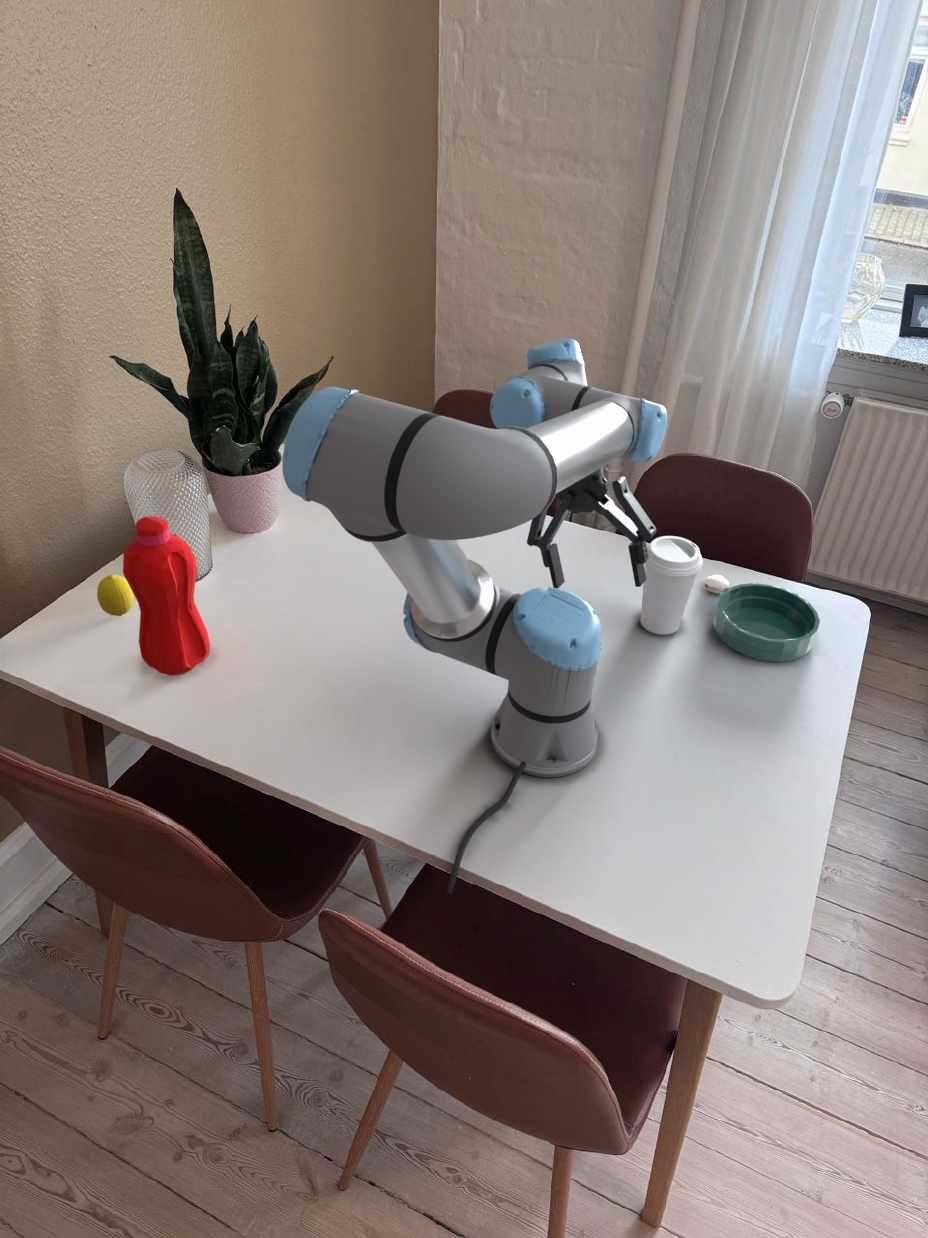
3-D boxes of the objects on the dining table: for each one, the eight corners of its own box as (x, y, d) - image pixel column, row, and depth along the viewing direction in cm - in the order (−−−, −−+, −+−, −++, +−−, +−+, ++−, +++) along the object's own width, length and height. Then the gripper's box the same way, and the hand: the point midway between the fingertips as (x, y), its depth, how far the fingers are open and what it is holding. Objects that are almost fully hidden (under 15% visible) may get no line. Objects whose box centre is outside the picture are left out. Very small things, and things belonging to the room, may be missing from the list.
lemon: (142, 607, 156) (134, 567, 151) (129, 626, 151) (120, 586, 147) (110, 604, 156) (101, 564, 151) (96, 623, 152) (86, 583, 147)
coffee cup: (692, 641, 154) (710, 566, 145) (635, 639, 154) (649, 564, 145) (682, 607, 161) (699, 534, 152) (628, 605, 161) (641, 531, 152)
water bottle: (228, 648, 148) (208, 513, 133) (175, 685, 140) (147, 546, 125) (187, 627, 152) (163, 493, 137) (134, 662, 144) (102, 524, 129)
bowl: (784, 677, 147) (791, 655, 145) (694, 633, 156) (699, 611, 153) (828, 632, 157) (836, 611, 155) (741, 593, 166) (747, 572, 163)
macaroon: (701, 593, 165) (704, 581, 164) (705, 578, 169) (707, 566, 168) (726, 598, 164) (729, 586, 163) (729, 583, 168) (732, 571, 167)
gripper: (663, 433, 131) (685, 572, 138) (509, 451, 144) (537, 576, 152) (645, 448, 125) (669, 592, 133) (487, 465, 138) (517, 595, 146)
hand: (599, 584), depth 142 cm, fingers open, 13 cm apart
